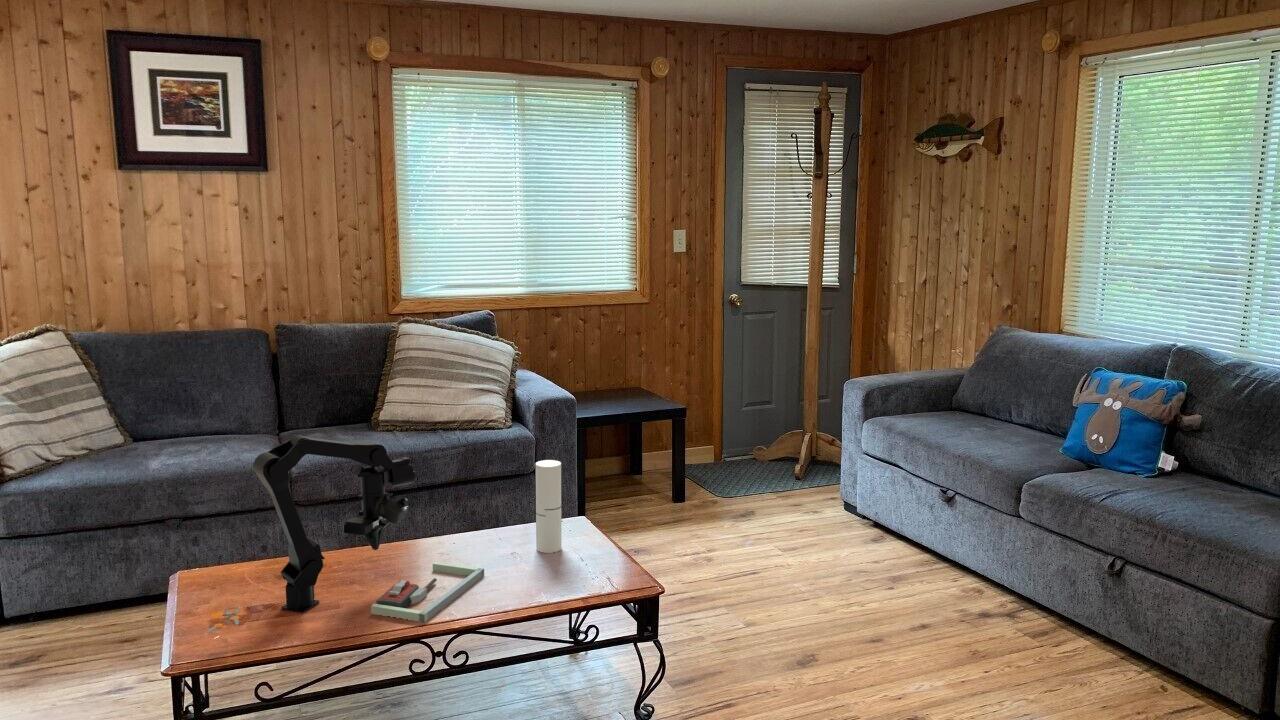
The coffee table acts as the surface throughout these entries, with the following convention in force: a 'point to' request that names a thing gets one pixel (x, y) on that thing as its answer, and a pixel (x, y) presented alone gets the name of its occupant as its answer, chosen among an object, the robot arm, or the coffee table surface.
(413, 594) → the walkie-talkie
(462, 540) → the coffee table surface
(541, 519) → the cylindrical container
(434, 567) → the green u-shaped bracket
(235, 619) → the key chain
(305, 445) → the robot arm
